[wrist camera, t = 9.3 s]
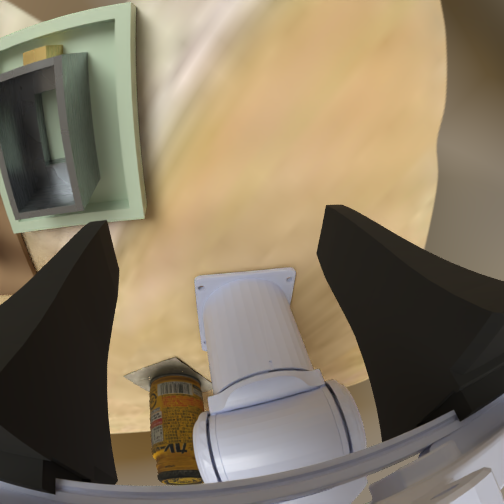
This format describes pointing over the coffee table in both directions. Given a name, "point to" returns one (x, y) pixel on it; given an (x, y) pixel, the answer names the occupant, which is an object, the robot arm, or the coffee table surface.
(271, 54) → the coffee table surface
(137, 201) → the tray
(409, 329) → the robot arm
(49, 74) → the grey open box
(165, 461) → the condiment
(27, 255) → the tan rectangular block
